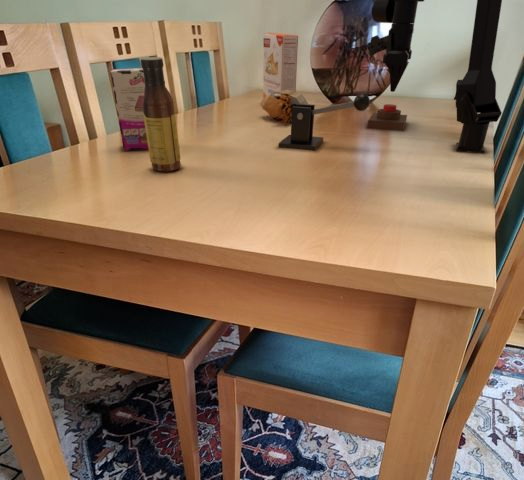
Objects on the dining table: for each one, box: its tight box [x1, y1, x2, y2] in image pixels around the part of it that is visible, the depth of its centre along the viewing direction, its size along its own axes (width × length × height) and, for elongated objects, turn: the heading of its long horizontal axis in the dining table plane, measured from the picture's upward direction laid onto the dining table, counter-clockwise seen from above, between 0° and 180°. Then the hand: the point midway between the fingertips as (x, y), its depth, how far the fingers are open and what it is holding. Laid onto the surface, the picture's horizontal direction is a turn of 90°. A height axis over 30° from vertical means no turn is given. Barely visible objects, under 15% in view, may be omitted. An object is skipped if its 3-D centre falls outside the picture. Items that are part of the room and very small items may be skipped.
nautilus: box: [260, 89, 309, 126], centre depth 137 cm, size 8×22×15 cm
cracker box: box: [262, 32, 299, 100], centre depth 153 cm, size 14×6×21 cm, turn 25°
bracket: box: [278, 103, 324, 152], centre depth 112 cm, size 9×10×9 cm
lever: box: [311, 93, 371, 116], centre depth 108 cm, size 17×4×4 cm, turn 72°
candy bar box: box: [109, 67, 149, 152], centre depth 107 cm, size 11×5×16 cm, turn 105°
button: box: [382, 103, 397, 112], centre depth 132 cm, size 4×4×2 cm
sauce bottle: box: [140, 56, 181, 173], centre depth 91 cm, size 7×6×20 cm
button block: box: [366, 108, 408, 132], centre depth 134 cm, size 12×10×4 cm
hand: (392, 91), depth 129 cm, fingers closed
